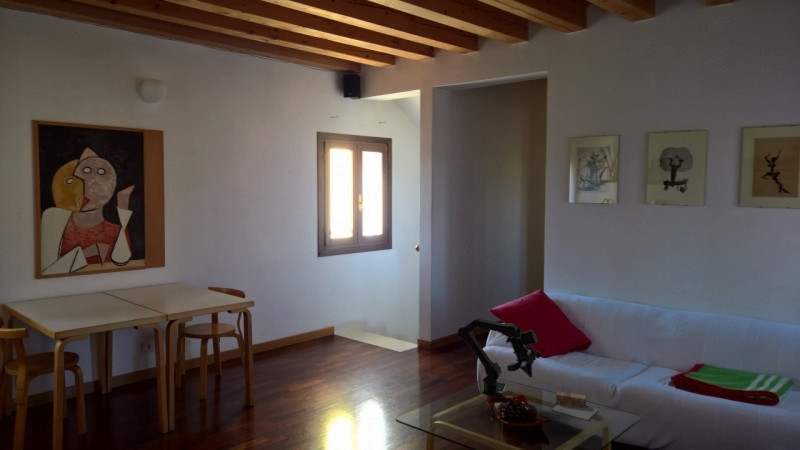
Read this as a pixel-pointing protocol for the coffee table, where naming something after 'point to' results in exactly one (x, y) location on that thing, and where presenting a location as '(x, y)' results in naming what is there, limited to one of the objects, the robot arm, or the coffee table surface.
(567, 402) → the block
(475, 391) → the coffee table surface
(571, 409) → the mat
